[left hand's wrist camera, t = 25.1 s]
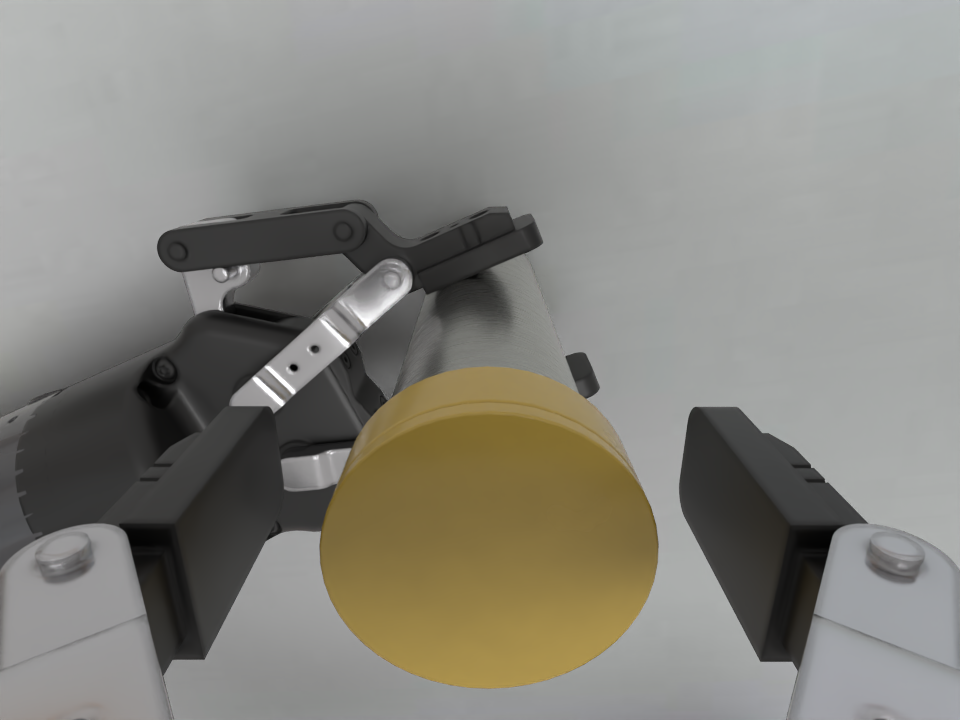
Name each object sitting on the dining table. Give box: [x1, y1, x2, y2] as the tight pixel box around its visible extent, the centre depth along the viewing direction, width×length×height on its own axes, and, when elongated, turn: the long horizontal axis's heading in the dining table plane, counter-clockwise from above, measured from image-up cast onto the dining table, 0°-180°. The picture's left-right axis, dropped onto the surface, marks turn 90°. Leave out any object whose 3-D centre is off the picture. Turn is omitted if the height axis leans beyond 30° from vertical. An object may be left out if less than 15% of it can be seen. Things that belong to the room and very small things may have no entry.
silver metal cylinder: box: [392, 254, 579, 397], centre depth 18 cm, size 4×4×16 cm
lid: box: [320, 366, 658, 689], centre depth 10 cm, size 5×5×2 cm
